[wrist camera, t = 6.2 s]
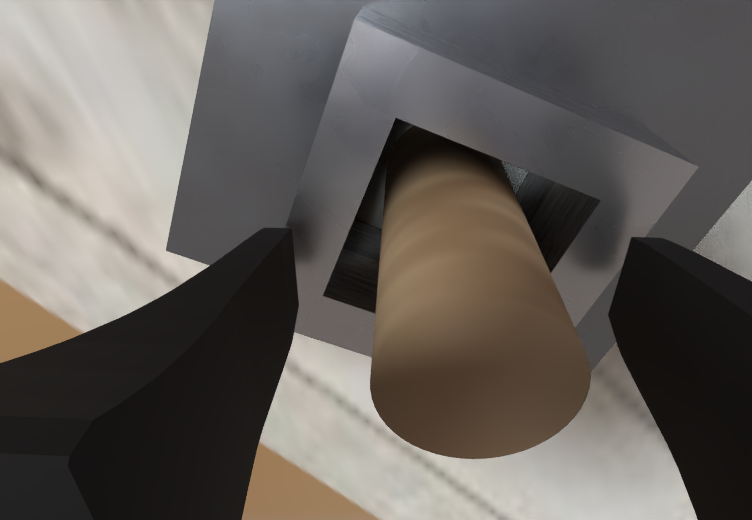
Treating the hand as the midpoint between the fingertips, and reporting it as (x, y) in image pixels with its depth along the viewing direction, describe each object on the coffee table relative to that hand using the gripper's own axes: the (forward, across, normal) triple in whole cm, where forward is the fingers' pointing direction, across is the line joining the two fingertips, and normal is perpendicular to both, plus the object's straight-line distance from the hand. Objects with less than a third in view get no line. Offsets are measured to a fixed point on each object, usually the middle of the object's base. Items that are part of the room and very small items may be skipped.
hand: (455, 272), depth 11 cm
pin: (+5, 0, 0) cm, 5 cm away
